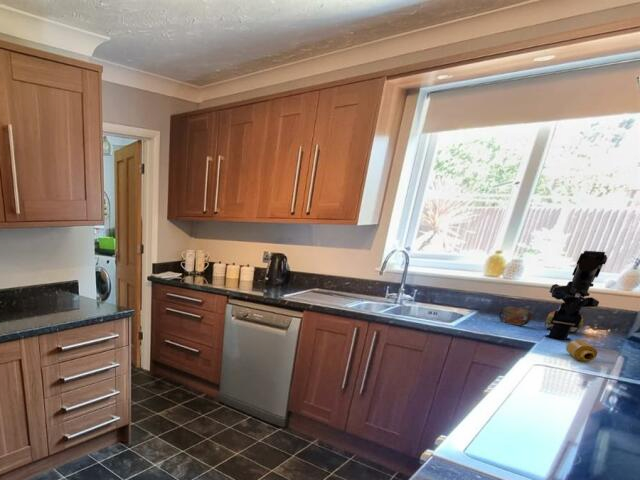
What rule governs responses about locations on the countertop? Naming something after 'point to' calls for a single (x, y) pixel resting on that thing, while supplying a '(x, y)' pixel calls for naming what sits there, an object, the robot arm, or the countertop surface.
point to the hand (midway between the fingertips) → (567, 316)
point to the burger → (573, 329)
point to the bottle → (581, 350)
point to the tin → (515, 315)
